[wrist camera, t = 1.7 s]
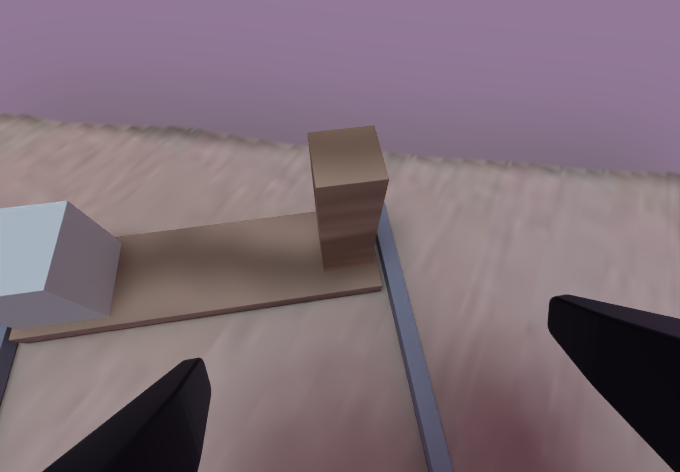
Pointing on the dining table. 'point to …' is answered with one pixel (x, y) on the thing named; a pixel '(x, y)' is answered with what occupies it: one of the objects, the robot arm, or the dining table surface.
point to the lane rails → (417, 374)
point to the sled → (255, 250)
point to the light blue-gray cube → (54, 266)
